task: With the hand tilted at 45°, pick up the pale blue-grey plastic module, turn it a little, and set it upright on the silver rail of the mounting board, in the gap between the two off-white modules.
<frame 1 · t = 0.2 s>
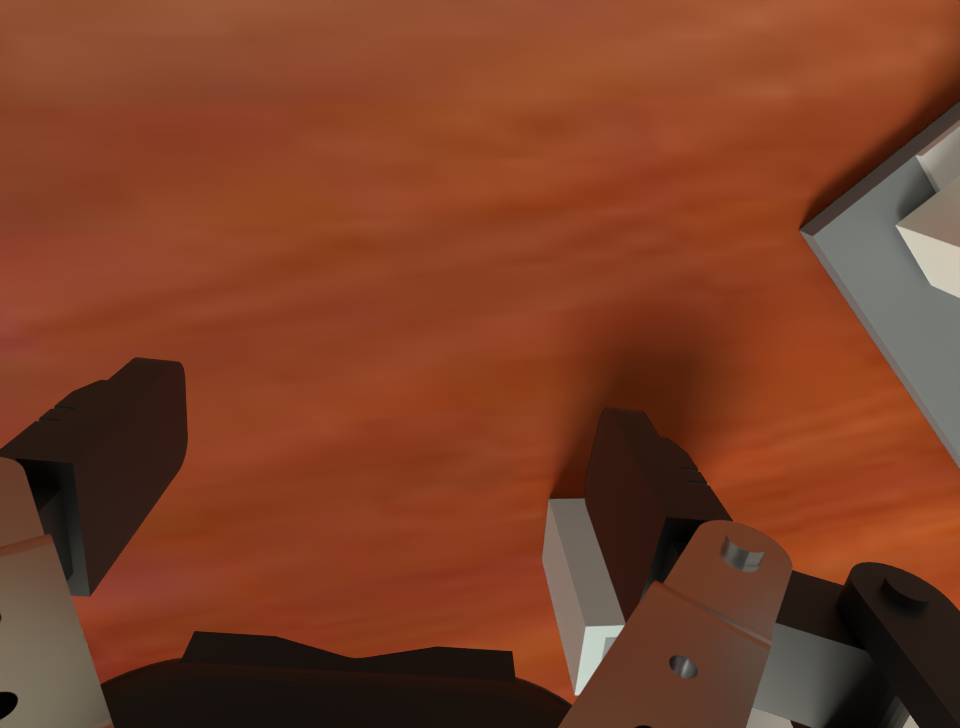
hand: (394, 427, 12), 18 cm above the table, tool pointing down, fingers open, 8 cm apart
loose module: (603, 528, 37), on the table
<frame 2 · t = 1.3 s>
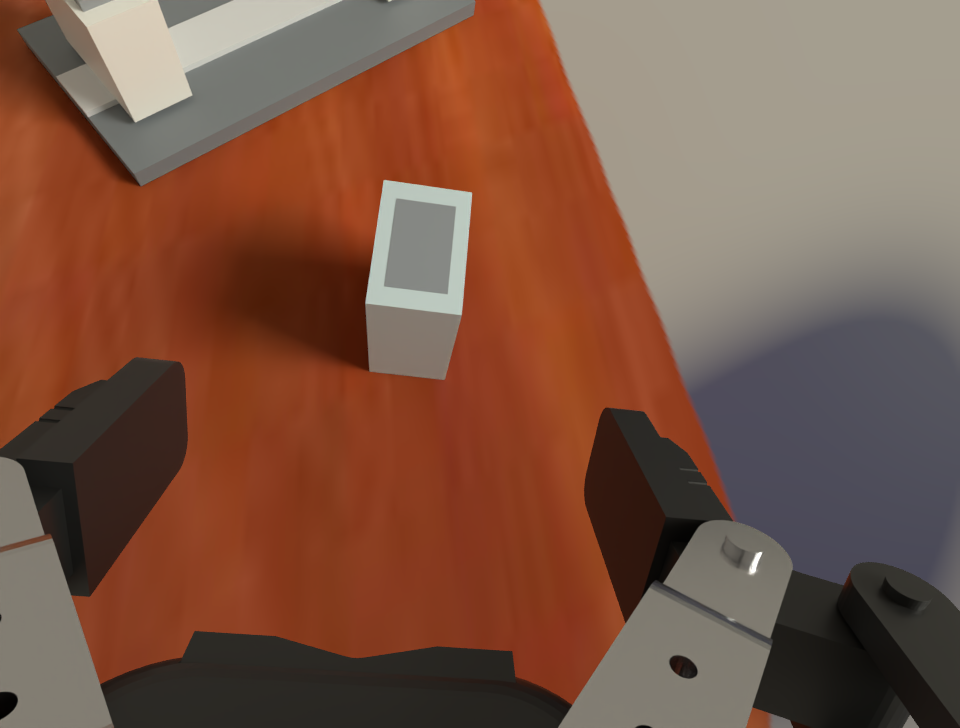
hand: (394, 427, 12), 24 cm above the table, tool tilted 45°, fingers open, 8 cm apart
module 2: (138, 87, 42), resting on mounting board
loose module: (413, 323, 39), on the table
mounting board: (266, 28, 46), on the table
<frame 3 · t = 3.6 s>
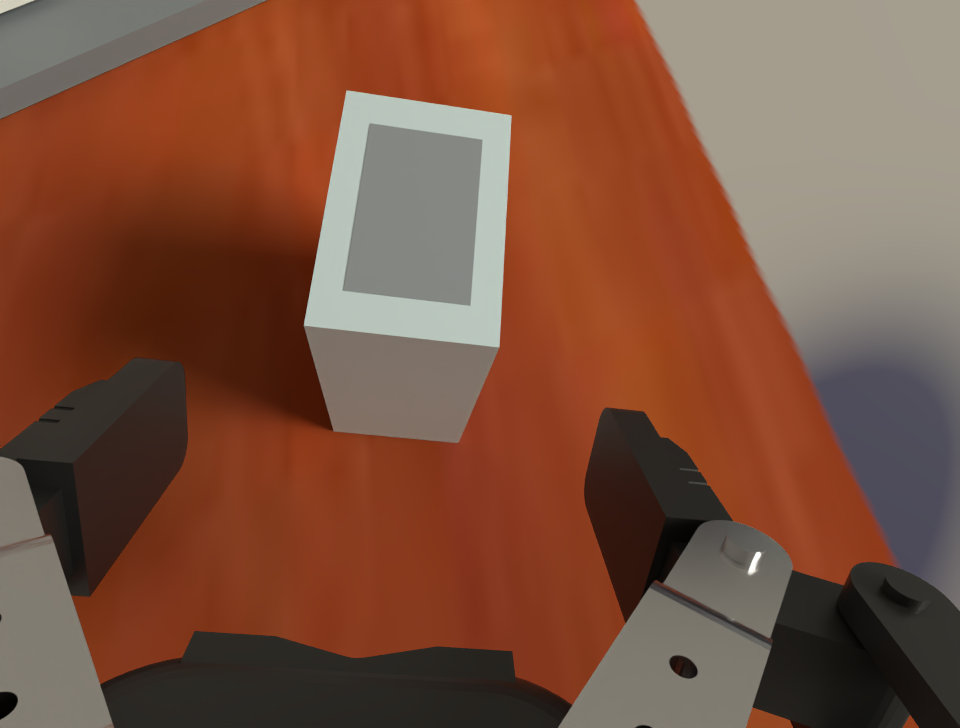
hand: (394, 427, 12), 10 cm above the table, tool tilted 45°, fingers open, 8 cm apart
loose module: (406, 348, 24), on the table
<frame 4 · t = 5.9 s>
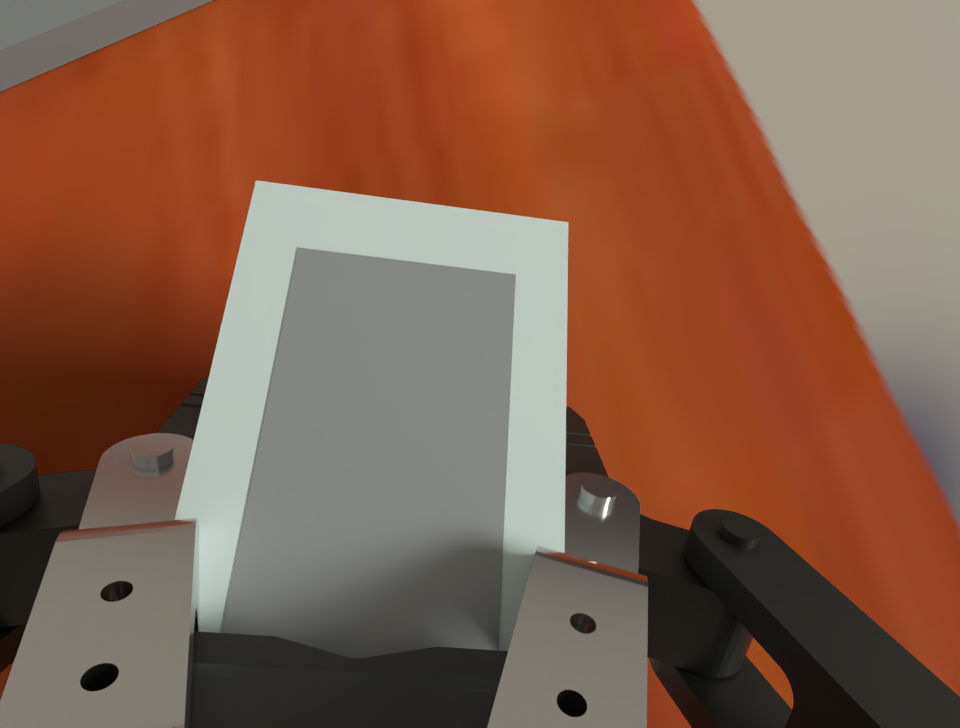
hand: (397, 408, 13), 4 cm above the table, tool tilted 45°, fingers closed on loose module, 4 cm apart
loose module: (387, 528, 16), on the table, touching gripper
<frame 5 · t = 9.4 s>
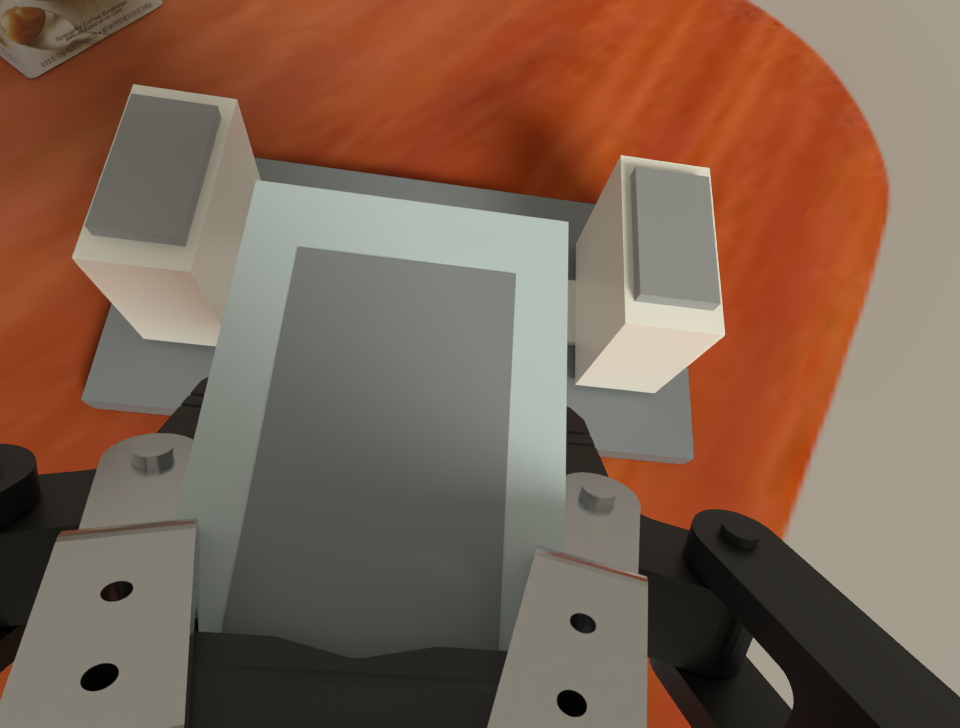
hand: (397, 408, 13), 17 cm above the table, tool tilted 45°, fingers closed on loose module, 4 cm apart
module 2: (217, 283, 32), resting on mounting board
module 1: (603, 328, 34), resting on mounting board
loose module: (387, 527, 16), point 13 cm above the table, touching gripper
coffee box: (68, 16, 37), on the table
mounting board: (416, 306, 33), on the table
when the fingers open (7 cm above the table, at t = 12.7 s): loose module drops 1 cm, resting on mounting board.
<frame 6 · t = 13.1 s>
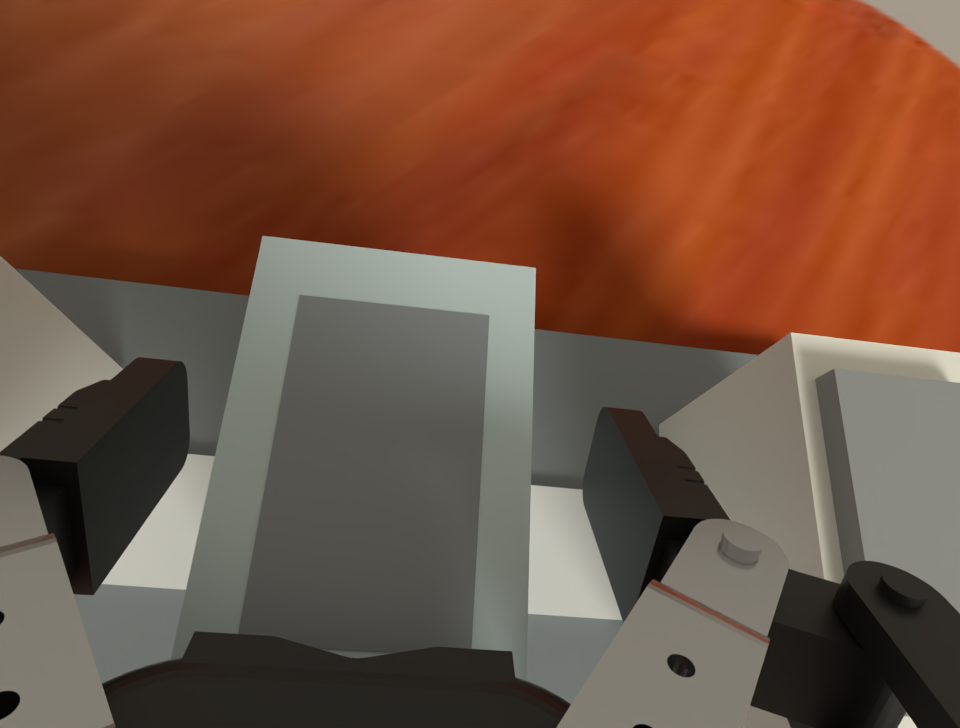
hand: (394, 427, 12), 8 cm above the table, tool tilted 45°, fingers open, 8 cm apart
module 2: (32, 513, 18), resting on mounting board
module 1: (705, 566, 20), resting on mounting board
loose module: (382, 533, 17), point 2 cm above the table, touching mounting board
mounting board: (387, 541, 19), on the table
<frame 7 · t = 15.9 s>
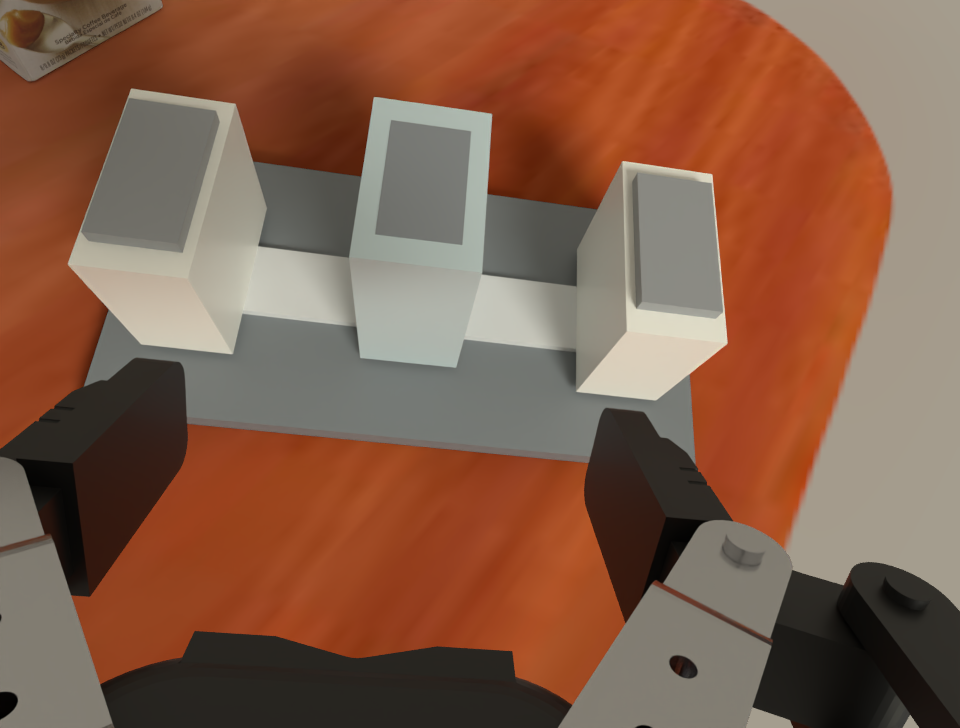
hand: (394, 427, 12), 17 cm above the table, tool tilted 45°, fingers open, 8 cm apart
module 2: (216, 288, 31), resting on mounting board
module 1: (604, 334, 33), resting on mounting board
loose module: (415, 296, 31), point 2 cm above the table, touching mounting board
coffee box: (68, 18, 37), on the table
mounting board: (416, 312, 32), on the table
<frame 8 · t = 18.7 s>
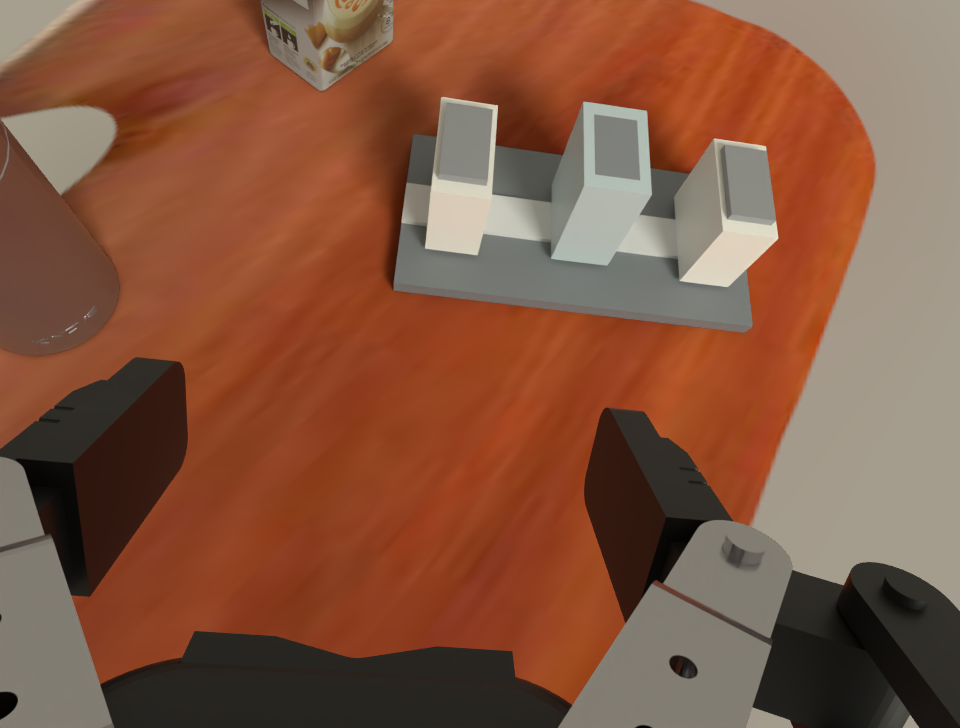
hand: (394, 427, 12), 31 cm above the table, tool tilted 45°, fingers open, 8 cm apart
module 2: (453, 219, 51), resting on mounting board
module 1: (691, 251, 53), resting on mounting board
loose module: (578, 224, 50), point 2 cm above the table, touching mounting board
coffee box: (333, 49, 56), on the table
mounting board: (574, 235, 52), on the table
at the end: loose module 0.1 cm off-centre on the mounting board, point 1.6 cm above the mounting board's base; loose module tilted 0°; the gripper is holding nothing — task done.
